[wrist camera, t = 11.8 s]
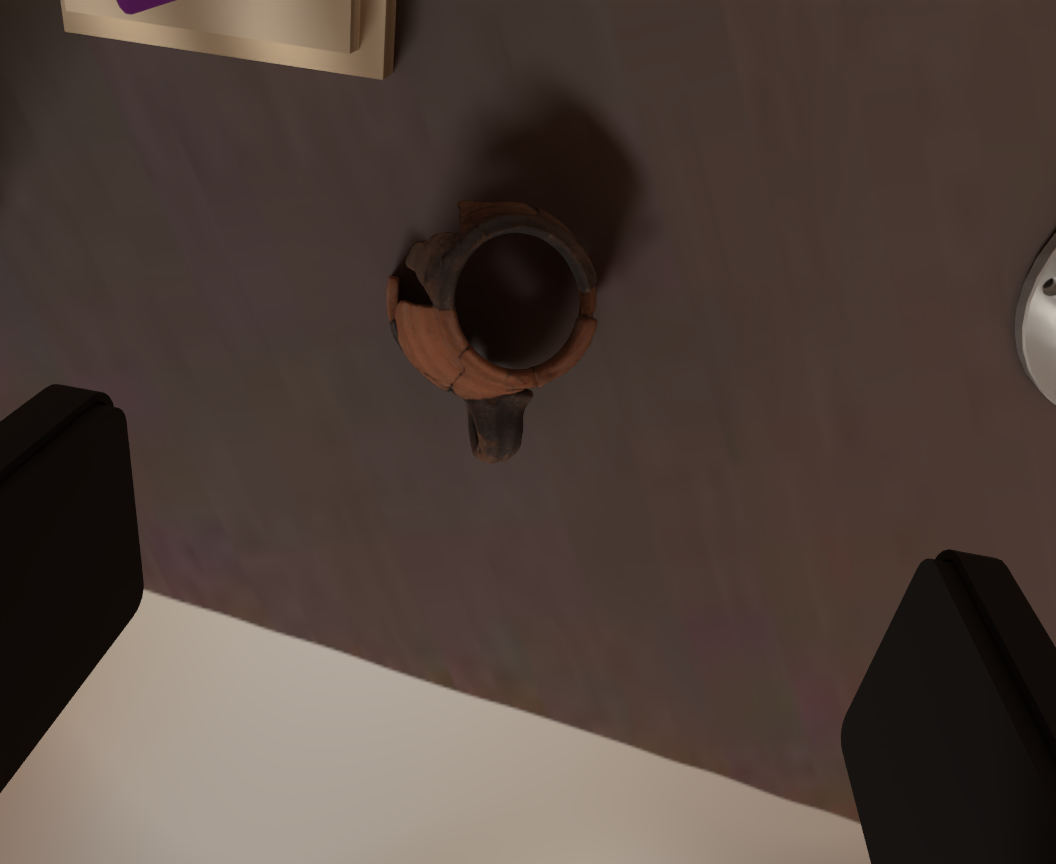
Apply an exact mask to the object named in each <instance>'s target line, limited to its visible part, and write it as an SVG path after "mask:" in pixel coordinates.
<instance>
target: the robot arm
mask: <svg viewBox="0 0 1056 864" xmlns="http://www.w3.org/2000/svg"><path fill="white" fill-rule="evenodd" d="M1047 280H1048V281H1047ZM1046 281H1047V283H1045V282H1046ZM1044 283H1045V284H1044ZM1014 332H1015V339H1016V345H1017V352H1018V355H1019V358H1020V360H1021V363H1022V365H1023V367H1024V370H1025V372H1026V374H1027V375H1028V376H1029V378H1030V379H1031V380H1032V382H1033V383H1034V384H1035V385H1036V387H1037V388H1038V389H1039V390H1040V391H1041V392H1042V393H1043V394H1044V395H1045V396H1046V397H1047V398H1048V399H1049V400H1050V401H1051V402H1052V403H1053V404H1055V405H1056V233H1055V234H1054V235H1053V236H1052V238H1051V239H1050V240H1049V242H1048V243H1047V244H1046V246H1045V247H1044V249H1043V250H1042V251H1041V253H1040V254H1039V255H1038V257H1037V258H1036V260H1035V262H1034V264H1033V266H1032V268H1031V270H1030V272H1029V274H1028V276H1027V278H1026V280H1025V282H1024V284H1023V287H1022V291H1021V294H1020V298H1019V301H1018V304H1017V308H1016V319H1015V331H1014ZM143 589H144V582H143V573H142V563H141V554H140V544H139V535H138V525H137V516H136V507H135V497H134V488H133V478H132V469H131V460H130V450H129V441H128V431H127V422H126V417H125V414H124V412H123V411H122V410H121V409H119V408H116V407H114V406H113V402H112V400H111V399H110V397H109V396H108V395H107V394H105V393H103V392H97V391H92V390H87V389H81V388H76V387H70V386H65V385H60V384H52V385H50V386H48V387H46V388H45V389H43V390H42V391H41V392H39V393H38V394H37V395H35V396H34V397H33V398H31V399H30V400H29V401H27V402H26V403H25V404H23V405H22V406H21V407H19V408H18V409H17V410H15V411H14V412H13V413H11V414H10V415H9V416H7V417H6V418H5V419H3V420H2V421H0V793H1V791H2V790H3V789H4V787H5V786H6V785H7V783H8V782H9V781H10V779H11V778H12V777H13V776H14V774H15V773H16V772H17V770H18V769H19V768H20V766H21V765H22V763H23V762H24V761H25V760H26V758H27V757H28V756H29V754H30V753H31V751H32V750H33V749H34V748H35V746H36V745H37V744H38V742H39V741H40V740H41V738H42V737H43V736H44V734H45V733H46V732H47V730H48V729H49V728H50V726H51V725H52V724H53V722H54V721H55V720H56V718H57V717H58V716H59V714H60V713H61V712H62V710H63V709H64V708H65V706H66V705H67V704H68V702H69V701H70V700H71V698H72V697H73V696H74V694H75V693H76V692H77V690H78V689H79V688H80V686H81V685H82V684H83V682H84V681H85V680H86V678H87V677H88V676H89V675H90V673H91V672H92V671H93V669H94V668H95V666H96V665H97V664H98V662H99V661H100V660H101V659H102V657H103V656H104V654H105V653H106V652H107V650H108V649H109V648H110V647H111V645H112V644H113V643H114V641H115V640H116V639H117V637H118V636H119V635H120V633H121V632H122V631H123V629H124V628H125V627H126V625H127V624H128V623H129V621H130V620H131V619H132V617H133V616H134V614H135V613H136V611H137V609H138V607H139V605H140V602H141V599H142V595H143ZM841 746H842V752H843V756H844V760H845V764H846V768H847V771H848V775H849V779H850V783H851V787H852V791H853V795H854V799H855V803H856V806H857V810H858V814H859V818H860V822H861V826H862V830H863V833H864V837H865V841H866V845H867V849H868V853H869V857H870V860H871V864H1056V647H1055V646H1054V644H1053V642H1052V641H1051V639H1050V637H1049V636H1048V634H1047V632H1046V631H1045V629H1044V627H1043V626H1042V624H1041V622H1040V621H1039V619H1038V617H1037V616H1036V614H1035V612H1034V611H1033V609H1032V607H1031V606H1030V604H1029V602H1028V601H1027V599H1026V597H1025V596H1024V594H1023V592H1022V591H1021V589H1020V587H1019V586H1018V584H1017V582H1016V581H1015V579H1014V577H1013V576H1012V574H1011V572H1010V571H1009V569H1008V567H1007V566H1006V565H1005V564H1004V563H1003V561H1002V560H999V559H997V558H992V557H987V556H982V555H976V554H971V553H966V552H960V551H955V550H945V551H942V552H941V553H940V554H939V555H938V556H937V557H936V559H935V560H934V559H925V560H924V561H922V562H921V563H920V565H919V566H918V568H917V570H916V572H915V574H914V576H913V578H912V580H911V582H910V584H909V586H908V588H907V590H906V592H905V595H904V597H903V599H902V601H901V603H900V605H899V607H898V609H897V611H896V613H895V615H894V617H893V619H892V621H891V623H890V625H889V627H888V629H887V631H886V633H885V636H884V638H883V640H882V642H881V644H880V646H879V648H878V650H877V652H876V654H875V656H874V658H873V660H872V662H871V664H870V666H869V668H868V670H867V672H866V675H865V677H864V679H863V681H862V683H861V685H860V687H859V689H858V691H857V693H856V695H855V697H854V699H853V701H852V703H851V705H850V707H849V709H848V711H847V713H846V716H845V718H844V721H843V725H842V731H841Z"/></svg>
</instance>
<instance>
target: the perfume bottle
mask: <svg viewBox="0 0 1056 864" xmlns="http://www.w3.org/2000/svg"><path fill="white" fill-rule="evenodd" d="M116 1H117V3H118V5H119V7H120V8H121V9H122V10H123V12H124V13H125V14H131V15H132V14H135V13H138V12H142V11H145V10H148V9H151V8H154V7H157V6H160V5H163V4H166V3H170V2H173V1H176V0H116Z"/></svg>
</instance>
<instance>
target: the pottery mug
mask: <svg viewBox="0 0 1056 864" xmlns="http://www.w3.org/2000/svg"><path fill="white" fill-rule="evenodd" d="M458 208H459V209H460V219H461V231H460V233H458V234H454V233H449V232H444V233H440V234H436V235H434V236H432V237H431V238H430V239H428V240H427V241H421V242H417V243H415V244H414V245H413V247H412V249H411V251H410V253H409V255H408V256H407V259H406V265H407V267H409V268H410V269H412V270H413V271H415V272H416V276H417V278H418V280H419V282H420V283H421V284H422V285H423V286H424V288H425V290H426V292H427V294H428V295H429V297H430V299H431V301H432V303H433V305H420V304H414V303H411V302H409V301H406V300H401V301H400V303H399V286H400V281H399V278H398V277H396V276H390V277H389V278H388V283H387V289H386V299H387V313H388V317H389V319H390V326H391V330H392V333H393V336H394V338H395V340H396V341H397V342H398V345H399V346H400V348H401V350H402V351H403V352H404V354H405V355H406V357H407V358H408V359H409V361H410V362H411V363H412V365H413V366H414V367H416V368H417V369H418V370H419V371H420V372H421V373H422V374H423V375H424V376H425V377H426V378H427V379H428V380H430V381H431V382H432V383H434V384H435V385H436V386H438V387H439V388H441V389H443V390H445V391H447V392H448V391H452V392H453V393H454V394H456V395H458V396H460V397H462V398H463V399H464V400H465V402H466V405H467V413H468V429H469V437H470V443H471V448H472V452H473V455H474V456H475V457H477V458H479V459H480V460H482V461H484V462H488V463H491V464H493V463H496V462H499V461H506V460H508V459H509V458H511V457H512V456H513V455H514V454H516V453H517V451H518V450H519V448H520V445H521V439H522V433H523V414H524V410H525V408H526V406H527V404H528V403H529V402H530V400H531V398H532V396H533V392H532V391H531V390H529V389H526V388H535V387H538V388H540V387H542V386H544V385H545V384H546V383H548V382H551V381H553V380H554V379H556V378H558V377H560V376H561V375H562V374H564V373H566V372H567V371H568V370H569V369H571V368H572V367H573V366H574V365H575V364H576V363H577V362H578V361H579V359H580V358H581V357H582V356H583V354H584V353H585V351H586V350H587V348H588V347H589V345H590V343H591V340H592V338H593V335H594V333H595V330H596V326H597V320H596V319H595V318H593V312H594V311H595V308H596V286H595V285H596V283H597V281H598V276H597V273H596V270H595V268H594V266H593V263H592V261H591V259H590V257H589V256H588V255H587V253H586V252H585V250H584V248H583V247H582V245H581V244H580V242H579V241H578V240H577V238H576V237H575V236H574V235H573V233H572V232H571V231H570V230H569V229H568V228H567V227H566V226H565V225H564V224H563V223H562V222H561V221H560V220H558V219H557V218H555V217H554V216H553V215H551V214H550V213H548V212H547V211H545V210H543V209H540V208H537V209H536V210H533V209H532V208H531V207H530V206H529V205H527V204H525V203H523V202H514V201H508V202H503V201H501V202H483V201H482V202H478V201H459V202H458ZM507 233H524V234H529V235H533V236H536V237H538V238H540V239H542V240H544V241H545V242H547V243H548V244H550V245H551V246H553V247H554V248H555V249H556V250H557V251H558V252H559V253H560V254H561V255H562V256H563V257H564V259H565V260H566V262H567V263H568V265H569V267H570V269H571V271H572V273H573V275H574V277H575V280H576V283H577V287H578V292H579V299H580V309H579V316H578V318H577V319H576V322H575V325H574V328H573V330H572V333H571V335H570V337H569V338H568V340H567V341H566V343H565V344H564V346H563V347H562V348H561V349H560V350H559V352H558V353H557V354H555V355H554V356H553V357H552V358H550V359H549V360H547V361H546V362H544V363H542V364H540V365H537V366H534V367H530V368H528V369H508V368H503V367H500V366H497V365H495V364H493V363H491V362H489V361H488V360H486V359H484V358H483V357H482V356H481V355H479V354H478V353H477V352H476V351H475V350H474V349H473V347H472V346H471V345H470V344H469V342H468V340H467V339H466V337H465V336H464V333H463V331H462V329H461V327H460V324H459V320H458V316H457V311H456V307H455V294H456V287H457V282H458V278H459V275H460V273H461V271H462V269H463V267H464V265H465V264H466V262H467V260H468V259H469V257H470V256H471V255H472V254H473V252H474V251H475V250H476V249H477V248H478V247H479V246H480V245H481V244H482V243H483V242H486V241H488V240H489V239H491V238H493V237H496V236H499V235H502V234H507Z"/></svg>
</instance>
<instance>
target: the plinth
mask: <svg viewBox="0 0 1056 864" xmlns="http://www.w3.org/2000/svg"><path fill="white" fill-rule="evenodd" d="M61 7H62V14H63V22H64V29H65V32H71V33H78V34H84V35H91V36H97V37H104V38H111V39H117V40H124V41H130V42H137V43H143V44H150V45H157V46H163V47H170V48H176V49H183V50H190V51H196V52H203V53H209V54H216V55H223V56H229V57H236V58H242V59H249V60H256V61H262V62H269V63H275V64H282V65H289V66H295V67H302V68H308V69H315V70H322V71H328V72H335V73H341V74H348V75H355V76H361V77H368V78H374V79H381V80H383V79H385V78H386V77H388V76H389V75H391V74H392V73H393V63H394V42H395V20H396V0H176V1H173V2H170V3H166V4H163V5H160V6H157V7H154V8H151V9H148V10H145V11H142V12H138V13H135V14H132V15H131V14H125V13H124V12H123V10H122V9H121V8H120V7H119V5H118V3H117V1H116V0H61Z"/></svg>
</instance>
